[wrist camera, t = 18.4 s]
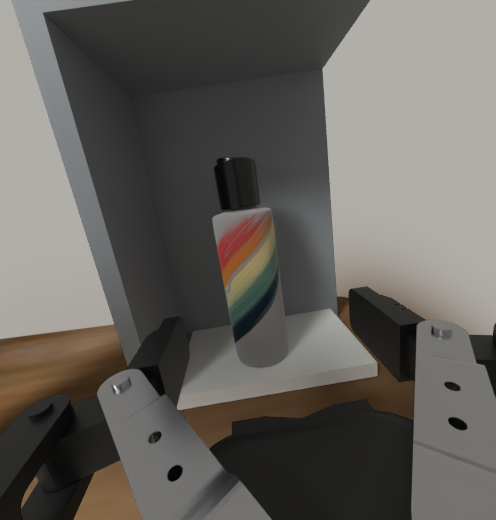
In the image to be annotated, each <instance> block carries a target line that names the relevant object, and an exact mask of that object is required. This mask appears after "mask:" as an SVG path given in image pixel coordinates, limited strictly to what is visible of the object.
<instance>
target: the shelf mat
mask: <svg viewBox="0 0 496 520" xmlns="http://www.w3.org/2000/svg"><path fill="white" fill-rule="evenodd" d="M285 320H286V329H287V337H288V352H287V354H286V356H285V357H284V359H282V360H281V361H280V362H278V363H277V364H274V365H272V366H268V367H251V366H248V365H246V364H244V363H243V362H242V361H241V360H240V359H239V357H238V355H237V351H236V347H235V342H234V336H233V331H232V326H231V325H227V326H221V327H215V328H209V329H203V330H197V331H193V333H192V336H191V339H190V343H189V349H190V358H189V362H188V366H187V370H186V374H185V377H184V381H183V385H182V389H181V393H180V396H179V400H178V404H177V409H178V410H183V409H188V408H194V407H200V406H206V405H212V404H218V403H224V402H229V401H235V400H241V399H247V398H253V397H259V396H264V395H270V394H276V393H282V392H288V391H294V390H300V389H305V388H311V387H317V386H323V385H329V384H335V383H340V382H346V381H352V380H358V379H364V378H370V377H376V376H378V370H377V362H376V360H375V359H374V358H373V357H372V356H371V355H370V354H369V352H368V351H367V350H366V349H365V348H364V347H363V346H362V344H361V343H360V342H359V341H358V340H357V339H356V337H355V336H354V335H353V334H352V333H351V332H350V331H349V329H348V328H347V327H346V326H345V325H344V324H343V323H342V321H341V320H340V319H339V318H338V317H337V316H336V315H335V313H334V312H333V311H332V310H331V309H324V310H318V311H312V312H306V313H300V314H294V315H288V316H285Z"/></svg>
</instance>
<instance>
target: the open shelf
mask: <svg viewBox="0 0 496 520" xmlns="http://www.w3.org/2000/svg"><path fill="white" fill-rule="evenodd" d="M369 1H370V0H12V2H13V6H14V9H15V12H16V15H17V18H18V21H19V25H20V28H21V31H22V34H23V37H24V41H25V44H26V47H27V50H28V53H29V56H30V59H31V62H32V66H33V69H34V72H35V75H36V78H37V82H38V85H39V88H40V91H41V94H42V97H43V100H44V104H45V107H46V110H47V113H48V116H49V119H50V122H51V126H52V129H53V132H54V135H55V138H56V141H57V144H58V148H59V151H60V154H61V157H62V160H63V163H64V167H65V170H66V173H67V176H68V179H69V182H70V186H71V189H72V192H73V195H74V198H75V201H76V205H77V207H78V211H79V214H80V217H81V220H82V223H83V227H84V230H85V233H86V236H87V239H88V242H89V245H90V249H91V252H92V255H93V258H94V261H95V264H96V268H97V271H98V274H99V277H100V280H101V283H102V287H103V290H104V293H105V296H106V299H107V302H108V305H109V309H110V311H111V314H112V318H113V321H114V324H115V328H116V331H117V334H118V337H119V340H120V343H121V346H122V350H123V353H124V356H125V359H126V362H127V365H129V364H130V362H131V360H132V359H133V357H134V356H135V354H136V353H137V351H138V349H139V347H140V346H141V344H142V343H143V341H144V339H145V338H146V337H147V336H148V335H149V334H151V333H152V332H153V331H155V330H158V329H159V327H160V325H161V324H162V322H163V320H164V319H165V318H171V317H177V316H181V317H182V319H183V322H184V326H185V330H186V335H187V339H188V342H190V339H191V336H192V333H193V331H197V330H203V329H209V328H215V327H221V326H227V325H231V320H230V315H229V309H228V304H227V299H226V293H225V288H224V282H223V277H222V272H221V266H220V261H219V255H218V250H217V245H216V239H215V234H214V228H213V221H212V218H213V217H214V216H216V215H218V214H221V213H223V212H225V211H226V210H224V211H222V210H221V208H220V202H219V197H218V191H217V186H216V181H215V175H214V169H213V168H214V167H215V166H216V165H217V162H216V160H217V159H218V158H235V157H246V158H250V159H253V160H254V161H255V165H256V172H257V180H258V188H259V196H260V205H257V207H266V208H270V209H271V211H272V216H273V224H274V231H275V239H276V247H277V256H278V264H279V272H280V280H281V288H282V296H283V304H284V312H285V316H288V315H294V314H300V313H306V312H312V311H318V310H324V309H331V310H332V311H333V312H334V313H335V315H336V316H337V317H338V310H337V294H336V278H335V262H334V247H333V231H332V217H331V216H332V215H331V200H330V183H329V167H328V151H327V137H326V136H327V135H326V121H325V105H324V88H323V72H322V68H323V67H324V66H325V64H326V63H327V61H328V60H329V58H330V57H331V56H332V54H333V53H334V51H335V50H336V48H337V47H338V45H339V44H340V42H341V41H342V40H343V38H344V37H345V35H346V34H347V33H348V31H349V30H350V28H351V27H352V25H353V24H354V23H355V21H356V20H357V18H358V17H359V15H360V14H361V12H362V11H363V9H364V8H365V7H366V5H367V4H368V2H369Z"/></svg>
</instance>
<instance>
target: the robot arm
mask: <svg viewBox="0 0 496 520" xmlns="http://www.w3.org/2000/svg"><path fill="white" fill-rule="evenodd" d="M349 313H350V323H351V327H352V329H353V331H354V332H355V334H356V335H357V336H358V337H359V338H360V339H361V340H362V341H363V342H364V344H365V345H366V346H367V347H368V348H369V349H370V350H371V351H372V352H373V354H374V355H375V356H376V357H377V358H378V359H379V360H380V361H381V362H382V364H383V365H384V366H385V367H386V368H387V369H388V370H389V371H390V372H391V374H392V375H393V376H394V377H395V378H396V379H397V380H398V381H399V382H404V381H410V380H413V381H414V382H415V399H414V421H412V420H410V419H408V418H405V417H402V416H399V415H397V414H393V413H389V412H383V411H375V410H373V408H372V407H371V405H370V404H369V402H368V401H367V399H364V400H358V401H352V402H346V403H340V404H335V405H332V406H329V407H327V408H325V409H323V410H320V411H318V412H316V413H314V414H311V415H309V416H307V417H304V418H284V417H267V416H264V417H259V418H253V419H247V420H241V421H235V422H232V435H230V436H228V437H226V438H224V439H222V440H221V441H219V442H218V443H216V444H215V445H213V446H212V447H211V448H210V449H208V448H207V446H206V445H205V444H204V442H203V441H202V440H201V438H200V437H199V436H198V435H197V433H196V432H195V431H194V429H193V428H192V427H191V426H190V424H189V423H188V422H187V420H186V419H185V418H184V417H183V415H182V414H181V413H180V411H179V410H178V409H177V404H178V400H179V396H180V393H181V389H182V385H183V381H184V377H185V374H186V370H187V366H188V362H189V358H190V349H189V343H188V339H187V335H186V330H185V326H184V322H183V319H182V317H181V316H177V317H171V318H165V319H164V320H163V322H162V324H161V325H160V327H159V329H158V330H155V331H153V332H152V333H151V334H149V335H148V336H147V337H146V338H145V339H144V341H143V343H142V344H141V346H140V347H139V349H138V351H137V353H136V354H135V356H134V357H133V359H132V360H131V362H130V364H129V365H128V367H127V369H126V370H124V371H122V372H119V373H117V374H115V375H113V376H111V377H110V378H109V379H107V380H106V381H105V382H104V383H103V384H102V385H101V386H100V388H99V389H98V392H97V396H94V397H92V398H89V399H86V400H84V401H81V402H78V403H76V404H73V405H72V404H71V401H70V399H69V397H68V395H66V394H57V395H53V396H50V397H47V398H45V399H42V400H40V401H38V402H37V403H35V404H33V405H32V406H30V407H29V408H27V409H26V410H25V411H24V412H22V413H21V414H20V415H19V416H18V417H17V418H16V419H15V420H14V422H13V423H12V424H11V425H10V426H9V427H8V428H7V429H6V430H5V431H4V433H3V434H2V435H1V436H0V520H73V519H74V517H75V515H76V512H77V510H78V508H79V506H80V504H81V501H82V499H83V497H84V495H85V492H86V490H87V488H88V486H89V483H90V481H91V479H92V477H93V474H94V472H96V471H98V470H100V469H102V468H105V467H107V466H109V465H111V464H113V463H115V462H117V461H119V460H121V462H122V465H123V467H124V470H125V473H126V476H127V478H128V481H129V484H130V487H131V489H132V492H133V495H134V498H135V500H136V503H137V506H138V509H139V511H140V514H141V517H142V520H496V324H495V325H494V331H493V335H468V333H467V331H466V330H465V329H463V328H462V327H460V326H458V325H456V324H453V323H449V322H446V321H440V320H425V319H423V318H422V317H420V316H419V315H417V314H416V313H414V312H412V311H411V310H409V309H407V308H406V307H405V306H403V305H400V303H398V302H397V301H395V300H393V299H392V298H389V297H386V296H383V295H379V294H378V293H376V292H375V291H373V290H372V289H370V288H369V287H360V288H354V289H350V290H349ZM35 476H36V477H37V479H38V481H39V482H38V483H37V485H36V487H35V488H34V490H33V491H32V493H31V494H30V496H29V498H28V499H27V501H26V502H25V504H24V506H23V507H22V509H21V503H22V499H23V496H24V494H25V492H26V490H27V488H28V486H29V485H30V483H31V482H32V480H33V479H34V477H35Z"/></svg>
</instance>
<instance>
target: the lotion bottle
mask: <svg viewBox="0 0 496 520" xmlns="http://www.w3.org/2000/svg"><path fill="white" fill-rule="evenodd" d="M216 162H217V165H216V166H215V167H214V168H213V169H214V175H215V181H216V186H217V191H218V197H219V202H220V208H221V210H222V211H224V210H226V211H225V212H223V213H221V214H218V215H216V216H214V217H213V218H212V221H213V228H214V234H215V239H216V245H217V250H218V255H219V261H220V266H221V272H222V277H223V282H224V288H225V293H226V299H227V304H228V309H229V315H230V320H231V326H232V331H233V336H234V342H235V347H236V351H237V355H238V357H239V359H240V360H241V361H242V362H243V363H244V364H246V365H248V366H251V367H268V366H272V365H274V364H277V363H278V362H280V361H281V360H282V359H284V357H285V356H286V354H287V352H288V337H287V329H286V320H285V312H284V304H283V296H282V288H281V280H280V272H279V264H278V256H277V247H276V239H275V231H274V224H273V216H272V211H271V209H270V208H266V207H257V205H260V196H259V188H258V180H257V172H256V165H255V161H254V160H253V159H250V158H246V157H235V158H218V159H217V160H216Z"/></svg>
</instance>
